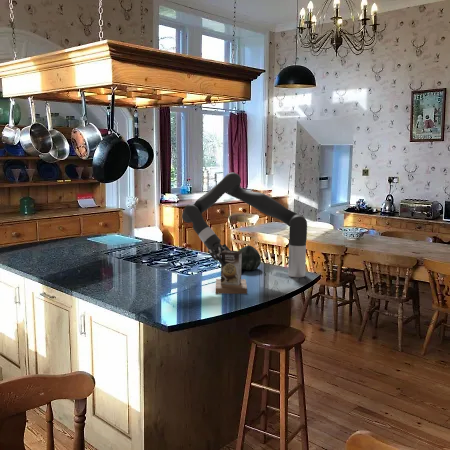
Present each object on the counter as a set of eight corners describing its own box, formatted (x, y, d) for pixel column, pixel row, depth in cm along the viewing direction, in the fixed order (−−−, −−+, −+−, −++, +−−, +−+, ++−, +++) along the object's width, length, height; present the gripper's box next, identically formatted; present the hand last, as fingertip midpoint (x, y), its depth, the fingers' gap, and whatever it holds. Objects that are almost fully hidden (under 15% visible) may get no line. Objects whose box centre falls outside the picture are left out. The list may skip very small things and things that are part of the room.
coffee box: (220, 284, 248) (220, 252, 246) (223, 281, 254) (224, 249, 252) (238, 285, 246) (238, 253, 243) (241, 282, 252) (242, 250, 249)
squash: (240, 255, 302) (236, 239, 291) (265, 258, 297) (261, 242, 286) (234, 274, 293) (229, 259, 282) (259, 278, 288) (255, 262, 277)
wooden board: (216, 283, 259) (216, 279, 258) (245, 284, 259) (245, 279, 258) (215, 293, 242) (215, 288, 241) (247, 293, 242) (247, 288, 241)
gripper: (212, 240, 261) (231, 265, 257) (197, 245, 248) (217, 271, 244) (221, 231, 257) (240, 256, 253) (206, 235, 245) (226, 261, 241)
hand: (229, 263), depth 249 cm, fingers open, 8 cm apart
